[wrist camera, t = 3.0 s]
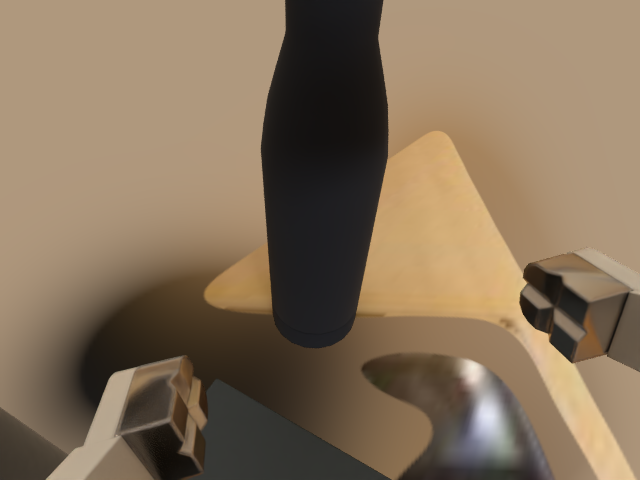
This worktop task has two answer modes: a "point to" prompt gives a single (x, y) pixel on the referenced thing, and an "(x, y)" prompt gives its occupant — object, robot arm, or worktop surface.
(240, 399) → the centre mat
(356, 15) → the wine bottle
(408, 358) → the worktop surface
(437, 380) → the worktop surface
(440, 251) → the worktop surface
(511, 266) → the worktop surface
